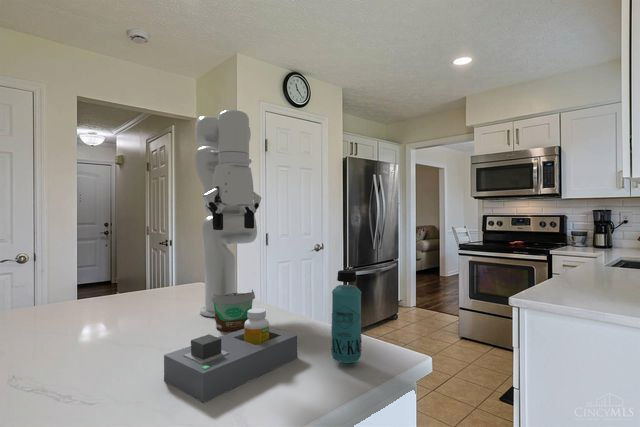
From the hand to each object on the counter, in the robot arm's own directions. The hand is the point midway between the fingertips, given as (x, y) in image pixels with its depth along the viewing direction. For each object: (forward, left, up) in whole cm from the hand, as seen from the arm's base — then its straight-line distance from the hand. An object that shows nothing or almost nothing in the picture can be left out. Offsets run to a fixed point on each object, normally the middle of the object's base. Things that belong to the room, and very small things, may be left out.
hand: (234, 229), depth 90 cm
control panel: (+10, +13, -28) cm, 33 cm away
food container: (-6, -7, -28) cm, 30 cm away
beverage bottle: (-6, +30, -28) cm, 42 cm away
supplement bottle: (+4, +13, -27) cm, 31 cm away
